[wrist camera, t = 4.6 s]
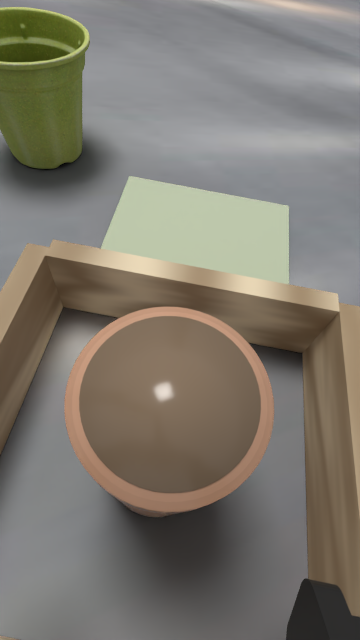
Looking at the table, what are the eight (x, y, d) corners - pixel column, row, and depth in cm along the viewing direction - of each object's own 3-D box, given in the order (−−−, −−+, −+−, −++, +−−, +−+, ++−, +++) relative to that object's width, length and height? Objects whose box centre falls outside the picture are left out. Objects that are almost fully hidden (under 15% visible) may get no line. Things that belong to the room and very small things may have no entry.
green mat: (95, 264, 25) (95, 261, 25) (129, 178, 30) (129, 175, 30) (287, 301, 25) (289, 298, 24) (287, 208, 30) (288, 206, 30)
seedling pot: (85, 509, 17) (28, 485, 8) (117, 393, 20) (99, 290, 12) (206, 533, 17) (272, 533, 8) (219, 413, 20) (276, 324, 12)
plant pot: (11, 115, 34) (-26, -2, 26) (108, 127, 34) (99, 15, 27) (-24, 175, 29) (-81, 52, 21) (90, 188, 29) (73, 72, 22)
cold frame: (-117, 655, 14) (-234, 709, 9) (51, 289, 23) (31, 235, 19) (343, 748, 13) (435, 846, 9) (319, 340, 23) (359, 297, 19)
